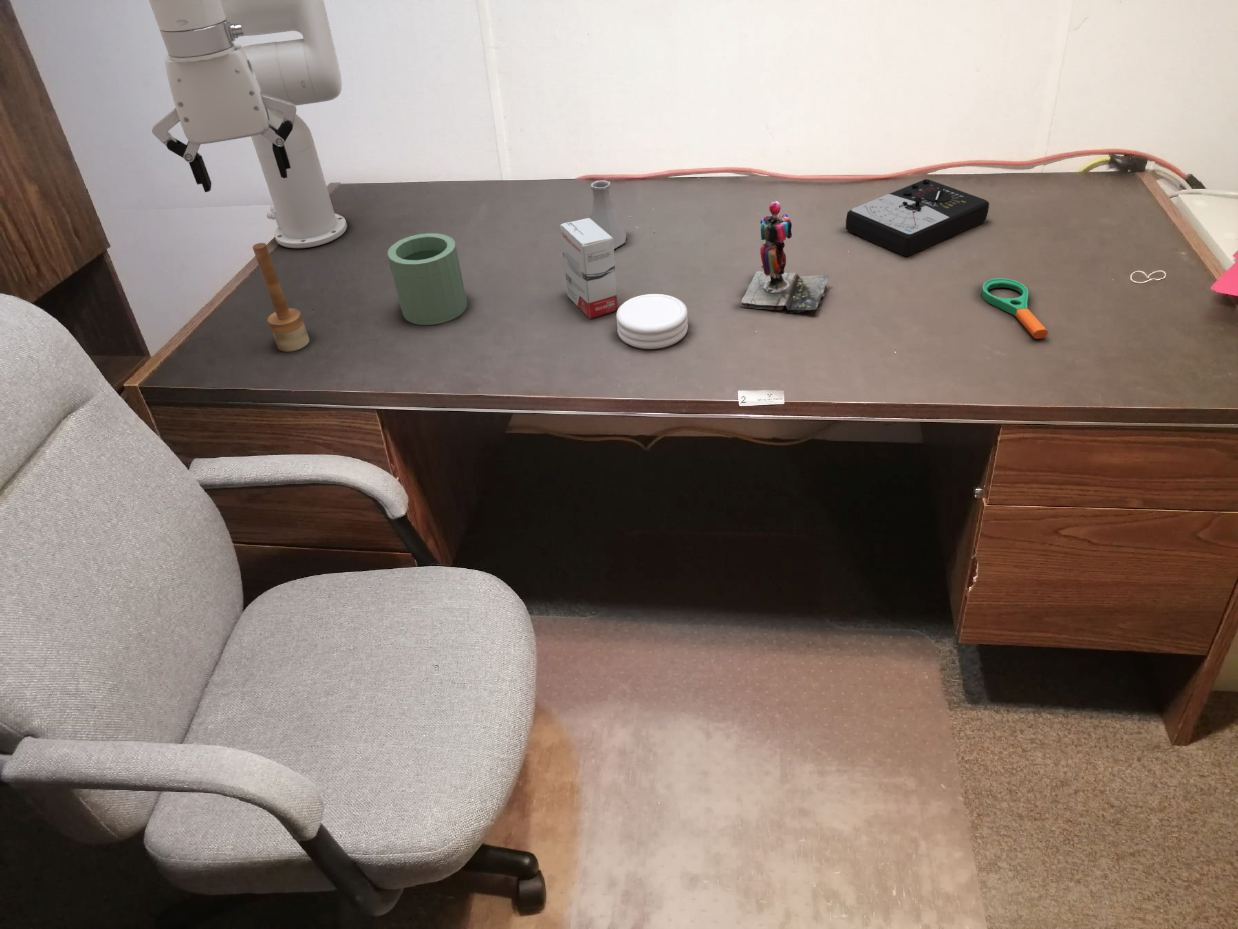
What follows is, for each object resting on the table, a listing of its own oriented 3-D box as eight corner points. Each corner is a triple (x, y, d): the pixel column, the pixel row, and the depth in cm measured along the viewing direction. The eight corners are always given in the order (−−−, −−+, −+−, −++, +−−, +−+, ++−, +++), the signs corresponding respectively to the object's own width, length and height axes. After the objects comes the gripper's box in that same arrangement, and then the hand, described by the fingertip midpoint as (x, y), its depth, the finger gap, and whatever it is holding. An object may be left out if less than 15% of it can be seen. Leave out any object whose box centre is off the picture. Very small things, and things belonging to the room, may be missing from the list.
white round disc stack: (666, 357, 121) (665, 335, 119) (604, 340, 126) (602, 318, 123) (700, 322, 127) (700, 301, 125) (640, 307, 132) (639, 286, 130)
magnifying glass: (974, 287, 130) (976, 276, 129) (1015, 283, 130) (1017, 273, 129) (1016, 342, 118) (1019, 331, 117) (1061, 338, 118) (1064, 327, 117)
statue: (741, 314, 131) (730, 218, 122) (758, 283, 137) (748, 189, 128) (816, 316, 126) (810, 216, 117) (829, 283, 133) (824, 187, 124)
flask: (577, 248, 148) (570, 190, 142) (594, 230, 153) (588, 173, 147) (617, 253, 146) (612, 194, 140) (633, 234, 151) (629, 176, 145)
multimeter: (987, 221, 146) (993, 192, 142) (905, 258, 138) (910, 228, 135) (923, 197, 154) (928, 169, 151) (843, 231, 147) (846, 202, 143)
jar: (389, 318, 135) (373, 257, 128) (428, 288, 141) (415, 229, 135) (442, 330, 131) (428, 268, 124) (479, 299, 137) (468, 238, 131)
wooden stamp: (270, 347, 130) (234, 250, 120) (292, 332, 133) (259, 235, 123) (294, 354, 128) (259, 255, 119) (316, 338, 132) (283, 240, 122)
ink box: (619, 310, 132) (614, 236, 124) (589, 320, 130) (581, 245, 123) (595, 287, 138) (588, 214, 130) (566, 295, 136) (557, 223, 129)
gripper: (273, 23, 110) (312, 160, 121) (125, 44, 107) (179, 183, 118) (273, 36, 105) (315, 179, 115) (117, 59, 101) (175, 204, 112)
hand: (246, 181), depth 116 cm, fingers open, 9 cm apart
